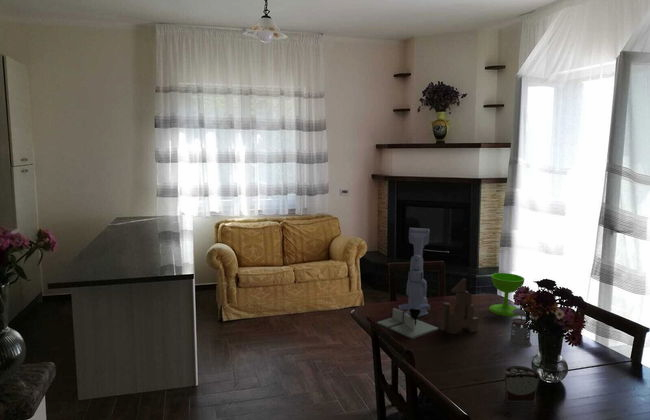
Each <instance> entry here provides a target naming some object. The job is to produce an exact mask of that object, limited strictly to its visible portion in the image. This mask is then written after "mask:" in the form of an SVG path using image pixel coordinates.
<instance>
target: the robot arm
mask: <svg viewBox="0 0 650 420" xmlns="http://www.w3.org/2000/svg"><path fill="white" fill-rule="evenodd" d="M430 231H431V230H430V228H420V227H409V230H408V241H409V244H412V245H413V256H411V258H410V266H409V271H408V275H407V276H408V277H407V281H406V293H405V294H406V296H408V300H407V301H408V303H404V304H398V310H400V311H405V310H406V311H405V312H406V313H407V314H408V315H409V316H411V317H412V318H413V319H414V320H415V325H416V319H417V318H419V317H423V316H426V315H429V312H428V310H431V305H430V304H429V303H428V298H427V293H428V292H427V291H428V290H427V289H428V285H427V283H428V282H427V280H426V279H424V258H423V255H424V248H425V246H427V245H429V243H430ZM417 320H418V319H417Z"/></svg>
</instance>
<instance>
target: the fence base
mask: <svg viewBox="0 0 650 420" xmlns="http://www.w3.org/2000/svg"><path fill="white" fill-rule="evenodd" d="M404 313H406V311H404V310H401V311H400V310H399V308H395V307H394V308H392V317H391V318H393V319H395V320H398V321H400V322H403V323H404Z"/></svg>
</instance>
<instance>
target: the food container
mask: <svg viewBox="0 0 650 420" xmlns="http://www.w3.org/2000/svg"><path fill="white" fill-rule="evenodd" d="M502 379H503V380H504V389H505V401H506V402H507V403H508V402H509V403H510V402H512V403H513V402H514V403H515V402H517V403H518V402H519V403H520V402H522V403H523V402H524V403H525V402H526V403H527V402H529V403H532V402H533V403H534V402H535V401H536V396H537V390H538V385H539V380H541V379H542V377H541V375H540V372H538V371H537V370H535V369H532V368H531V367H526V366H522V365H511V366H508V367H506V368H504V371H503V373H502Z"/></svg>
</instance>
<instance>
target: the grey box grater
mask: <svg viewBox="0 0 650 420" xmlns="http://www.w3.org/2000/svg"><path fill="white" fill-rule="evenodd" d="M516 308H517V309H514V310H513V311H512V312H513V313H514V314H515V315H518V316H519V317H520V318H513V319H512V322H511V325H510V326H511V327H510V338H509V339H508V340H507V342H508V343H509V344H510V345H512V346H513V347H514V346H515V347H517V348H525V349H526V348H531V347H532V346H533V344H531V343H532V342H531V333H532V331H531V330H532V329H531V330H528V331H527V328H529V327H528V325H530V324H531V322H530V321H529V322H528V323H527V324H525V320H526V318H527V317H526V313H525V311H524V310H520V308H521V307H520V308H519V307H516ZM518 316H517V317H518ZM523 317H524V319H523ZM529 323H530V324H529ZM521 326H522V327H521Z"/></svg>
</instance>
